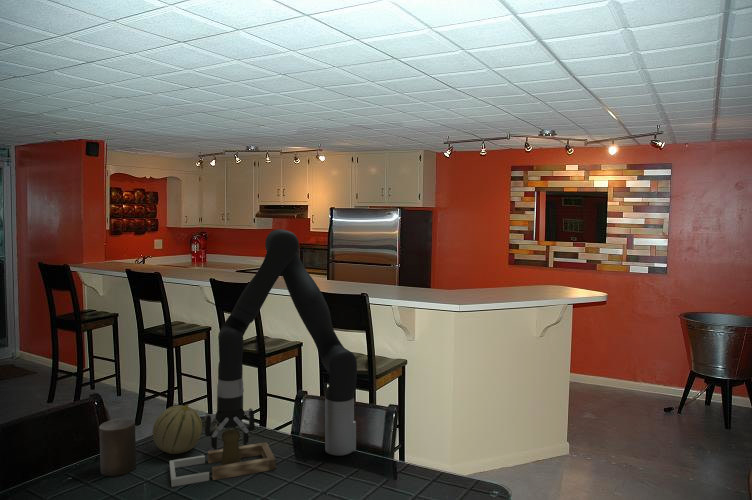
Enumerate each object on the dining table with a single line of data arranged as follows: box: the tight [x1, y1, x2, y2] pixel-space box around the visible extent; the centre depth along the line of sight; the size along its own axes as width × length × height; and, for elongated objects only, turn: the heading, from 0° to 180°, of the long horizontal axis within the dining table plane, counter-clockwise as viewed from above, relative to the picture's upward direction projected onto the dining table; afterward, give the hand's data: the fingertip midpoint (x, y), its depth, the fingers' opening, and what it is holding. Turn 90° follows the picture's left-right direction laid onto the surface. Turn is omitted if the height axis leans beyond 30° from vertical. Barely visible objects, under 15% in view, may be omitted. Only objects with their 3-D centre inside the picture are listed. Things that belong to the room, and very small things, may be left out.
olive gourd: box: [220, 428, 242, 465], centre depth 163 cm, size 6×6×11 cm
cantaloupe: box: [152, 403, 203, 455], centre depth 173 cm, size 15×15×15 cm
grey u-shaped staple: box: [168, 455, 210, 488], centre depth 159 cm, size 10×13×2 cm
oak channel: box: [207, 442, 277, 481], centre depth 165 cm, size 18×14×3 cm
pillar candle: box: [98, 418, 137, 477], centre depth 161 cm, size 10×10×15 cm
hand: (229, 446), depth 163 cm, fingers open, 8 cm apart
